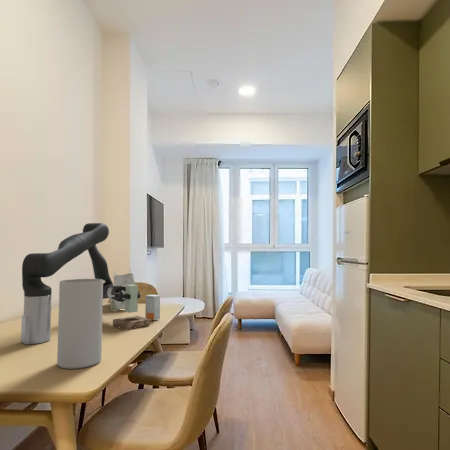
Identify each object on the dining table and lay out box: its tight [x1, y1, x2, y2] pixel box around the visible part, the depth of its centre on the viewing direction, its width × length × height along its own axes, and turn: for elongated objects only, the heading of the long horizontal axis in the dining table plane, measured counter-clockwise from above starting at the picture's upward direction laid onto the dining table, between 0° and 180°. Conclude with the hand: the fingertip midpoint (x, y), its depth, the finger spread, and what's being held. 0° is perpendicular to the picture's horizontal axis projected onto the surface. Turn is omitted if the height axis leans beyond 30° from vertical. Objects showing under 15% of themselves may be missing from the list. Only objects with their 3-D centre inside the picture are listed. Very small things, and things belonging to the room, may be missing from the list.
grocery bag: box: [110, 268, 136, 312], centre depth 213 cm, size 32×14×23 cm, turn 18°
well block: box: [112, 315, 151, 330], centre depth 158 cm, size 12×12×3 cm
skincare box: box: [144, 294, 161, 321], centre depth 171 cm, size 6×4×12 cm
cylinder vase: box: [56, 278, 104, 370], centre depth 107 cm, size 12×12×25 cm
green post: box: [124, 284, 139, 314], centre depth 158 cm, size 4×4×12 cm
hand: (134, 296), depth 157 cm, fingers closed on green post, 4 cm apart
